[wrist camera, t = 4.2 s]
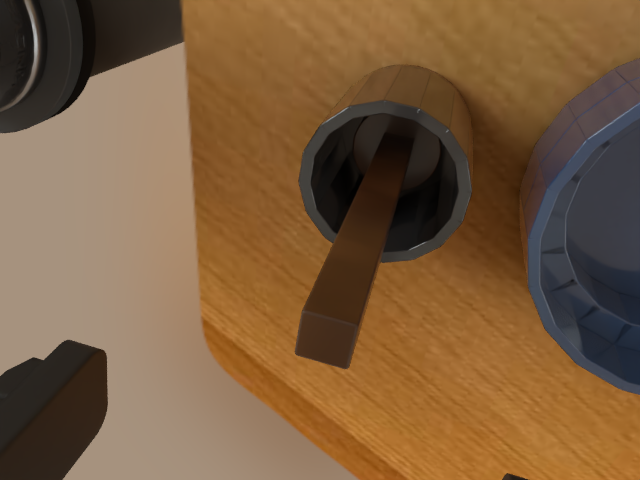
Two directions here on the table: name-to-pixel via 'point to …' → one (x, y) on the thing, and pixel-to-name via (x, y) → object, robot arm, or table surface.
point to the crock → (414, 204)
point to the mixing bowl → (589, 228)
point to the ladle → (364, 234)
